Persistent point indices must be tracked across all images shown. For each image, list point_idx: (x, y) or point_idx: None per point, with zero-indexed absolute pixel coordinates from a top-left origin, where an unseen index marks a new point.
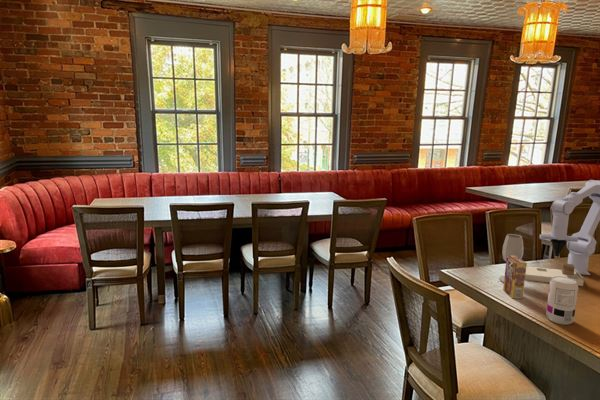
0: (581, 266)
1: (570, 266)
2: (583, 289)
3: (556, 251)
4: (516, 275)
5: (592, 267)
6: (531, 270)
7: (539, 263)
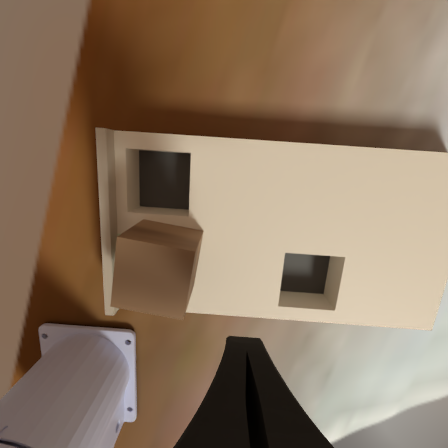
0: (57, 363)
1: (146, 243)
2: (133, 71)
3: (267, 378)
4: None
5: None
6: (389, 252)
7: None
